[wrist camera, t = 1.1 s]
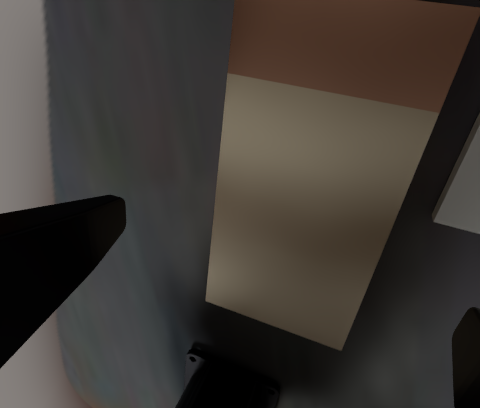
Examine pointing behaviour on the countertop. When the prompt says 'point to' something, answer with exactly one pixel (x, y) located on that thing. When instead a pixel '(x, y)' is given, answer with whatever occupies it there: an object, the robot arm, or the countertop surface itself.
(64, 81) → the countertop surface
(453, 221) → the grey mat
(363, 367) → the countertop surface
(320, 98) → the beige and brown block
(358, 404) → the countertop surface
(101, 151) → the countertop surface
